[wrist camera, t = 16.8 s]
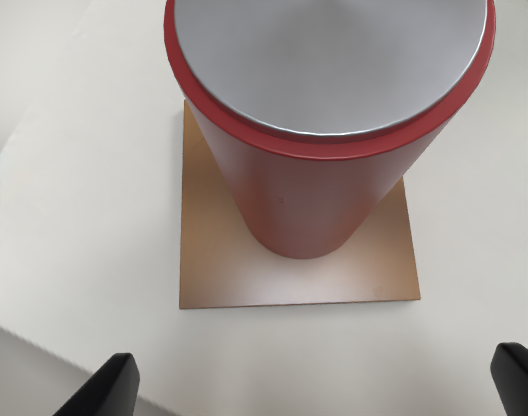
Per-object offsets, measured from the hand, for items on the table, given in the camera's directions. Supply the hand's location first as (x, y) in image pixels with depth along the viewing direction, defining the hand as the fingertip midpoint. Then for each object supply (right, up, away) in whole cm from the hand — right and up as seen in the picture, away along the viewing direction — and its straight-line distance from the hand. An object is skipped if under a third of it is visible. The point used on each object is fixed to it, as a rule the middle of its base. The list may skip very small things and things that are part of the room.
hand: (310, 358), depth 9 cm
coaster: (0, +5, +11) cm, 12 cm away
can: (+1, +4, +11) cm, 11 cm away
